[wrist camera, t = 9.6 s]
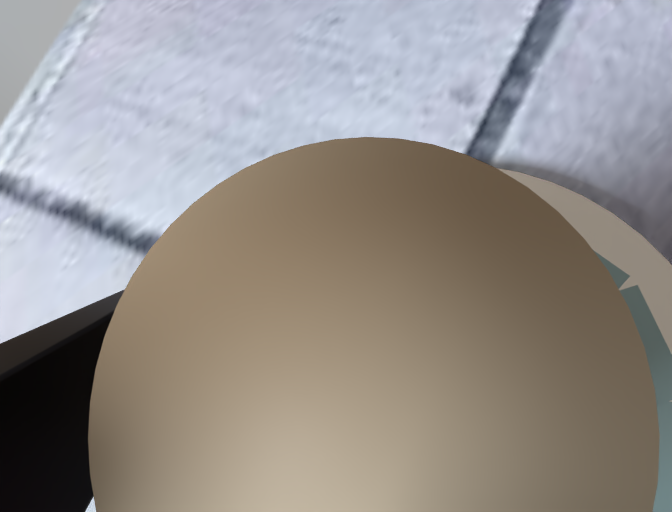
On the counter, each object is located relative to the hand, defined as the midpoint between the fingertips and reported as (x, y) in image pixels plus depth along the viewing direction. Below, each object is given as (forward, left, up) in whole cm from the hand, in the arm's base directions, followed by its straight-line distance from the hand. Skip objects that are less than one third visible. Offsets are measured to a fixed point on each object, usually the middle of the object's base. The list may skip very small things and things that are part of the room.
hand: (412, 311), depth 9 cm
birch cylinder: (-1, 0, -8) cm, 8 cm away
